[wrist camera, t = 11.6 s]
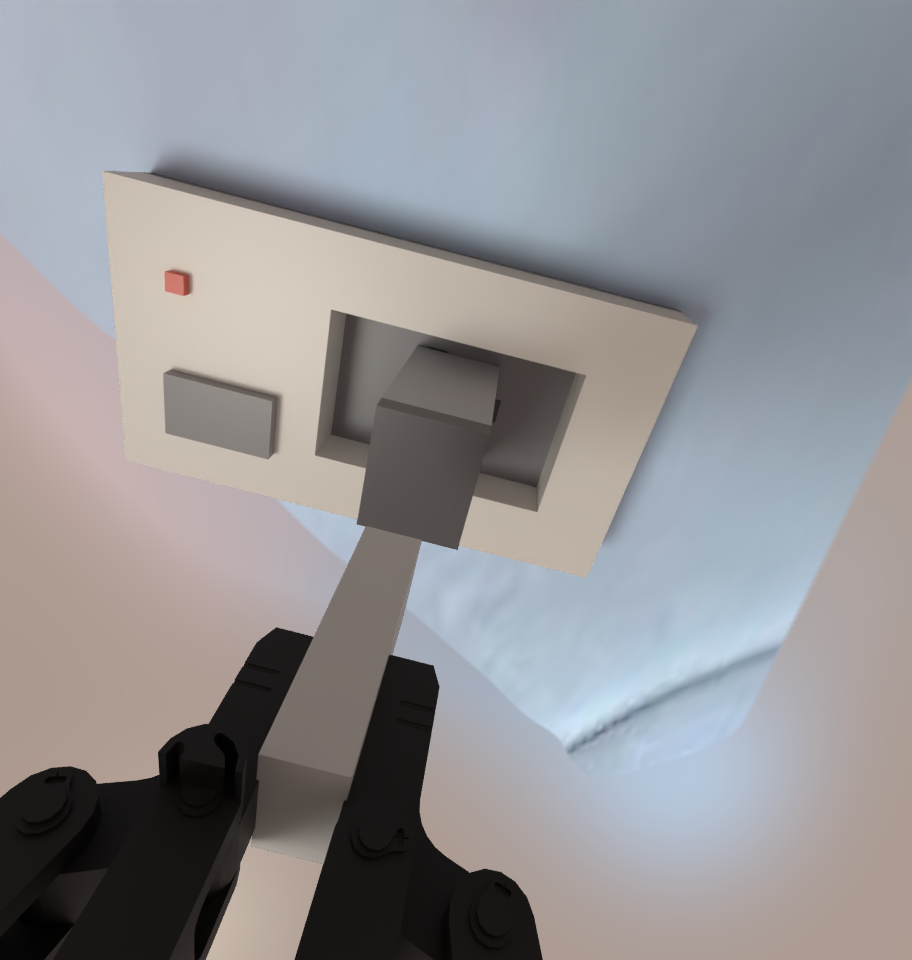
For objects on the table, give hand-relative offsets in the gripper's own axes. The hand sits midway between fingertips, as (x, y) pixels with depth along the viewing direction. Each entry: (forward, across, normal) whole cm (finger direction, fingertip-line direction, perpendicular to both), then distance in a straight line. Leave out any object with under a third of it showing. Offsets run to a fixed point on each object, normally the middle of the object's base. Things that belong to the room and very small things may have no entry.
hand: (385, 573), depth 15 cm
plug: (+14, 0, 0) cm, 14 cm away
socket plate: (+14, -3, 0) cm, 15 cm away
